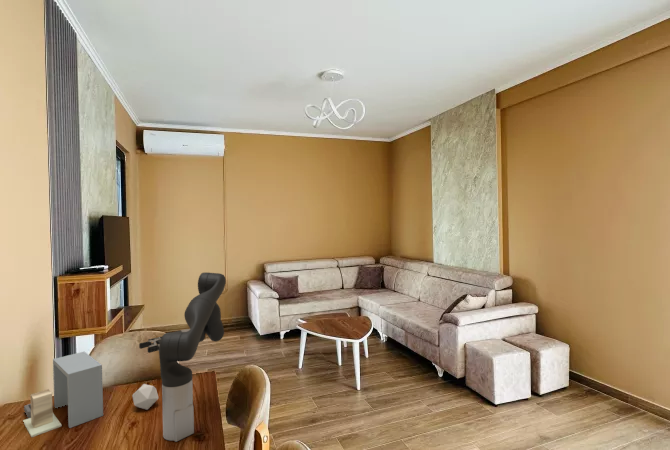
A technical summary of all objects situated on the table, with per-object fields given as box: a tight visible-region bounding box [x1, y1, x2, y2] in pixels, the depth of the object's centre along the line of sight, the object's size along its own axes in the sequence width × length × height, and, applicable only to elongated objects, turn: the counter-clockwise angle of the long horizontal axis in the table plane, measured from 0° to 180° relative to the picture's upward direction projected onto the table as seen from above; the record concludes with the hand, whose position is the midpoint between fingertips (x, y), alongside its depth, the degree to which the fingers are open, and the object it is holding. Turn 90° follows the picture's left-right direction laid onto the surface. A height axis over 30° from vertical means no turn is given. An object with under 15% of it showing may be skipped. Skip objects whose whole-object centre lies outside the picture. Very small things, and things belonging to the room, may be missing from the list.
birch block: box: [29, 388, 54, 428], centre depth 124 cm, size 5×5×10 cm
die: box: [132, 383, 159, 411], centre depth 135 cm, size 8×9×10 cm
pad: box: [22, 413, 62, 438], centre depth 124 cm, size 14×8×1 cm, turn 50°
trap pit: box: [23, 403, 31, 419], centre depth 133 cm, size 7×7×2 cm
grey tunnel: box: [52, 351, 104, 429], centre depth 132 cm, size 21×10×18 cm, turn 50°
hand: (143, 348), depth 150 cm, fingers open, 8 cm apart
